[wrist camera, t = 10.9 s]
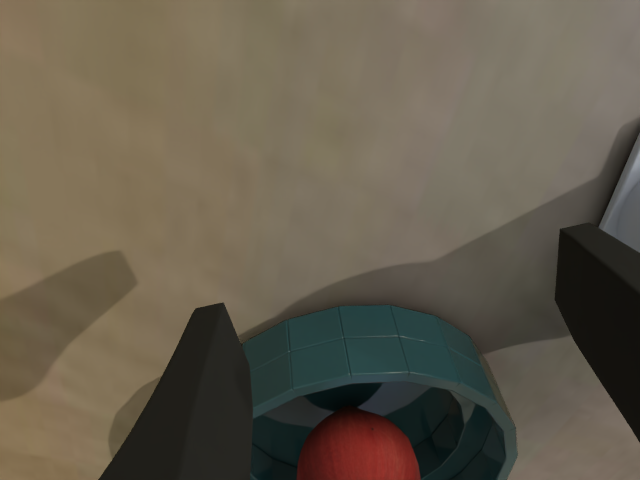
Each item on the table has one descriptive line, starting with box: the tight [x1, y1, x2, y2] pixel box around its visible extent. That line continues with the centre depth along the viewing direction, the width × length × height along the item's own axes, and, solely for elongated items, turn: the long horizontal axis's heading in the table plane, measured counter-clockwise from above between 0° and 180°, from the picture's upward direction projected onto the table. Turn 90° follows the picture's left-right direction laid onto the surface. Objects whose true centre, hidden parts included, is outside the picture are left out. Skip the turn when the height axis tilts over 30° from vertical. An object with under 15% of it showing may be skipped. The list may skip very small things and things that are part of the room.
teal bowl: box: [241, 305, 518, 480], centre depth 29 cm, size 15×15×4 cm
